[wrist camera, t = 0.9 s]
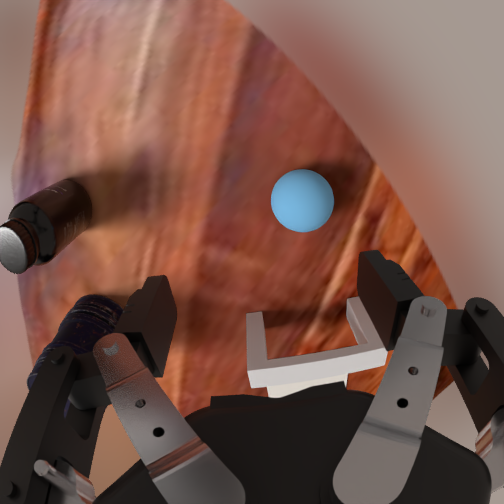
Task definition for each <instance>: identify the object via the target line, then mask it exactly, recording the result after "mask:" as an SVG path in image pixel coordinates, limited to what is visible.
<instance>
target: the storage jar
mask: <svg viewBox="0 0 504 504" xmlns="http://www.w3.org/2000/svg"><path fill="white" fill-rule="evenodd" d="M123 310H124V309H123V308H121V307H120V306H119V305H118V304H117V303H115V302H114V301H112V300H110V299H108V298H106V297H103V296H100V295H86V296H83V297H81V298H80V299H79V300H78V301H77V302H76V303H75V305H74V307H73V308H72V309H71V310H70V311H69V312H68V313H67V315H66V316H65V318H64V320H63V321H62V322H61V324H60V326H59V329H58V333H57V335H56V336H55V338H54V339H53V341H52V342H51V343H49V344H48V345H47V346H46V347H45V348H44V350H43V352H42V354H41V355H40V356H39V358H38V360H37V361H36V363H35V366H34V368H33V370H32V372H31V373H30V375H29V377H28V379H27V386H28V389H29V391H30V389H31V386H32V384H33V382H34V380H35V378H36V376H37V374H38V372H39V370H40V368H41V366H42V363H43V361H44V360H45V358H46V356H47V355H48V354H49V353H50V352H51V351H52V350H54V349H55V348H58V347H61V346H69V347H71V348H72V349H73V351H74V352H75V354H76V355H80V354H84V353H88V352H92V351H93V348H94V345H95V344H96V342H97V341H98V340H99V339H101V338H102V337H104V336H106V335H108V334H112V333H113V331H114V329H115V327H116V325H117V323H118V321H119V319H120V316H121V314H122V313H123ZM70 403H71V401H70V400H69V399H68V400H67V403H66V406H65V408H64V418H65V417H66V414H67V411H68V408H69V405H70ZM107 406H108V405H106V406H105V409H106V407H107ZM105 409H104V412H105ZM104 412H103V414H104ZM102 418H103V416H102ZM101 421H102V420H101Z"/></svg>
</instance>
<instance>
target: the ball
mask: <svg viewBox="0 0 504 504" xmlns="http://www.w3.org/2000/svg"><path fill="white" fill-rule="evenodd" d="M271 205H272V210H273V212H274V214H275V216H276V218H277V219H278V221H279V222H280V223H281V224H282V225H284V226H285V227H286V228H288V229H290V230H293V231H297V232H309V231H313V230H315V229H318V228H319V227H321V226H322V225H323V224H324V223H325V222H326V221H327V220H328V219H329V217H330V216H331V213H332V211H333V206H334V196H333V192H332V189H331V187H330V185H329V183H328V182H327V181H326V180H325V179H324V178H323V177H322V176H321V175H320V174H318V173H316V172H314V171H311V170H305V169H298V170H293V171H290V172H288V173H286V174H285V175H283V176H282V177H281V178H280V179H279V180H278V181H277V183H276V184H275V186H274V188H273V191H272V195H271Z"/></svg>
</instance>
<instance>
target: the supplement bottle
mask: <svg viewBox="0 0 504 504" xmlns="http://www.w3.org/2000/svg"><path fill="white" fill-rule="evenodd" d="M91 217H92V205H91V201H90V198H89V196H88V194H87V192H86V191H85V190H84V188H83V187H82V186H80V185H79V184H78V183H76V182H74V181H70V180H63V181H59V182H57V183H55V184H53V185H51V186H49V187H47V188H45V189H43V190H41V191H39V192H37V193H35V194H33V195H32V196H30V197H28V198H26V199H24V200H22V201H21V202H19V203H18V204H16V205H15V206H14V207H13V209H12V211H11V212H10V214H9V218H8V220H7V221H6V222H5V223H4V224H3V225H1V226H0V262H1V264H2V265H3V266H4V267H5V268H6V269H7V270H9V271H10V272H13V273H14V274H15V273H16V274H21V273H23V272H25V271H26V270H27V269H28V268H30V267H32V266H33V265H36V266H39V265H44V264H47V263H49V262H50V261H51V260H52V259H53V258H54V257H56V256H57V255H58V254H59V253H60V252H61V251H62V250H63V249H64V248H65V247H66V246H67V245H69V244H70V243H71V242H72V241H73V240H74V239H75V238H76V237H78V236H79V235H80V234H81V233H82V232H83V231H84V230H85V229H86V228H87V227H88V225H89V223H90V220H91Z"/></svg>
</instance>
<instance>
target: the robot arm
mask: <svg viewBox="0 0 504 504" xmlns="http://www.w3.org/2000/svg"><path fill="white" fill-rule="evenodd" d="M357 291H358V295H359V298H360V300H361V302H362V304H363V306H364V308H365V310H366V311H367V313H368V315H369V317H370V319H371V321H372V323H373V325H374V327H375V329H376V331H377V333H378V335H379V337H380V339H381V341H382V343H383V345H384V347H385V349H386V351H390V350H394V351H393V354H392V357H391V359H390V362H389V364H388V367H387V369H386V372H385V374H384V376H383V379H382V381H381V384H380V386H379V388H378V390H377V393H376V395H373V394H370V393H366V392H362V391H357V390H346V386H345V383H344V381H339V382H334V383H328V384H322V385H316V386H311V387H308V388H306V389H303V390H300V391H298V392H295V393H292V394H289V395H286V396H283V397H280V398H272V397H262V396H253V395H245V394H242V395H228V396H211V402H210V406H208V407H205V408H202V409H199V410H197V411H195V412H193V413H191V414H189V415H188V416H186V417H185V418H183V417H182V415H181V414H180V413H179V411H178V410H177V409H176V407H175V406H174V405H173V403H172V402H171V401H170V399H169V398H168V397H167V395H166V394H165V392H164V391H163V390H162V388H161V387H160V385H159V384H158V382H157V381H156V380H155V378H154V377H163V374H164V369H165V365H166V361H167V356H168V352H169V348H170V344H171V340H172V336H173V332H174V328H175V324H176V320H177V309H176V304H175V301H174V298H173V295H172V292H171V288H170V285H169V282H168V279H167V277H166V276H165V275H160V276H151V277H147V279H146V281H145V283H144V285H143V288H142V289H138V290H137V291H136V292H135V293H134V294H133V295H131V296H130V298H129V300H128V302H127V304H126V307H125V308H124V310H123V313H122V314H121V316H120V319H119V321H118V323H117V325H116V327H115V329H114V331H113V333H112V334H108V335H106V336H104V337H102V338H101V339H99V340H98V341H97V342H96V344H95V345H94V348H93V351H92V352H88V353H84V354H80V355H76V354H75V352H74V351H73V349H72V348H71V347H69V346H61V347H58V348H55V349H54V350H52V351H51V352H50V353H49V354H48V355H47V356H46V358H45V360H44V361H43V363H42V366H41V368H40V370H39V372H38V374H37V376H36V378H35V380H34V382H33V384H32V386H31V389H30V391H29V393H28V396H27V398H26V400H25V402H24V404H23V407H22V409H21V412H20V414H19V416H18V419H17V421H16V424H15V426H14V429H13V432H12V434H11V437H10V440H9V443H8V445H7V448H6V451H5V454H4V457H3V460H2V463H1V466H0V504H489V502H490V496H491V493H493V492H495V491H497V490H498V489H500V488H502V487H504V317H503V316H502V314H501V313H500V312H499V311H498V309H497V308H496V307H495V306H494V305H493V304H492V303H491V302H490V301H488V300H486V299H483V298H478V297H476V298H471V299H469V300H468V301H467V302H466V305H465V308H464V310H456V309H447V308H446V306H445V305H444V303H443V302H441V301H440V300H438V299H436V298H434V297H429V296H424V295H423V293H422V292H421V291H420V290H419V288H418V287H417V286H416V285H415V283H414V282H413V281H412V280H411V279H410V277H409V276H408V275H407V273H406V274H405V271H404V270H403V269H402V267H401V266H400V265H399V264H397V263H395V262H393V261H392V260H386V259H385V258H384V257H383V255H382V254H381V253H380V252H379V251H378V250H371V251H364V252H360V254H359V262H358V277H357ZM481 351H482V352H483V353H484V355H485V356H486V358H487V360H488V362H489V370H488V368H487V366H486V364H485V363H484V361H483V359H482V358H481V356H480V353H481ZM440 366H447V367H448V369H449V371H450V373H451V375H452V377H453V379H454V381H455V383H456V385H457V387H458V389H459V391H460V393H461V395H462V397H463V400H464V402H465V404H466V406H467V408H468V410H469V413H470V415H471V417H472V419H473V422H474V424H475V426H476V429H477V431H478V436H477V438H476V443H475V446H476V452H475V453H474V452H473V451H471V450H469V449H467V448H465V447H464V446H462V445H460V444H458V443H456V442H454V441H452V440H450V439H449V438H447V437H445V436H444V435H442V434H440V433H438V432H436V431H435V430H433V429H431V428H430V427H428V426H426V425H425V423H426V420H427V416H428V413H429V410H430V406H431V403H432V399H433V395H434V391H435V387H436V383H437V379H438V375H439V370H440ZM68 399H69V400H70V401H71V403H70V405H69V408H68V411H67V414H66V417H65V418H64V408H65V406H66V403H67V400H68ZM110 404H112V405H113V407H114V409H115V411H116V413H117V415H118V417H119V419H120V421H121V423H122V425H123V427H124V429H125V431H126V432H127V434H128V436H129V438H130V440H131V442H132V443H133V445H134V447H135V449H136V450H137V452H138V454H139V456H140V457H141V459H140V460H139V461H138V462H136V463H135V464H134V465H133V466H132V467H131V468H130V469H129V470H128V471H126V472H125V473H124V474H123V475H122V476H121V477H120V478H119V479H117V480H116V481H115V482H114V483H113V484H112V485H111V486H109V487H108V488H107V489H106V490H105V491H104V492H103V493H101V494H100V495H99V496H98V497H97V498H96V496H95V491H94V487H93V485H92V483H91V481H90V480H89V475H90V470H91V465H92V460H93V455H94V450H95V445H96V441H97V437H98V432H99V429H100V424H101V420H102V416H103V412H104V409H105V406H106V405H110Z"/></svg>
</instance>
